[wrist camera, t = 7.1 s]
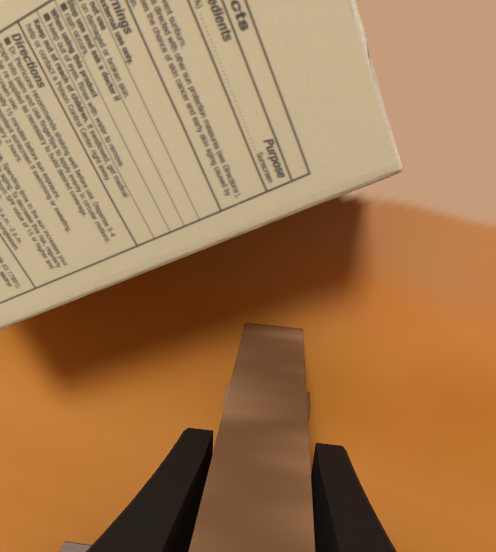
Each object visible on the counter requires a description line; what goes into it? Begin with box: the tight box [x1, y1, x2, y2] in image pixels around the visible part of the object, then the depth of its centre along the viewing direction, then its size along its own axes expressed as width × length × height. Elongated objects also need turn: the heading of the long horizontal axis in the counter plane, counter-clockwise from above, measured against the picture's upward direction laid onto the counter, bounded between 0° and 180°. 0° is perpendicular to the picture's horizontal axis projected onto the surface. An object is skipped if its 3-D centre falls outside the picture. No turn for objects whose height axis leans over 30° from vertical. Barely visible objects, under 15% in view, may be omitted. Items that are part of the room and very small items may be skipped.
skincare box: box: [0, 0, 402, 330], centre depth 11 cm, size 6×4×12 cm
